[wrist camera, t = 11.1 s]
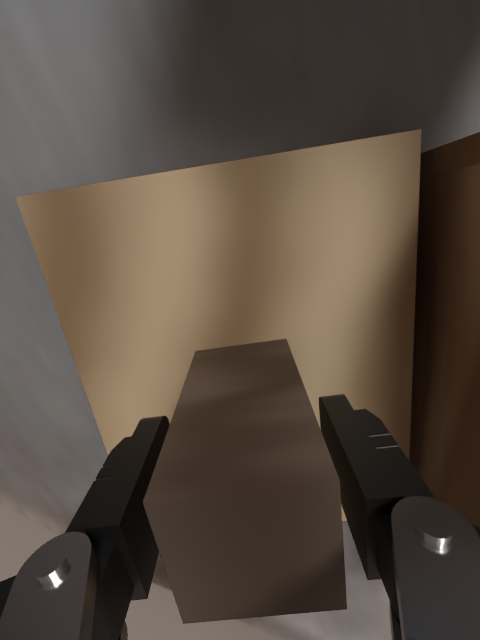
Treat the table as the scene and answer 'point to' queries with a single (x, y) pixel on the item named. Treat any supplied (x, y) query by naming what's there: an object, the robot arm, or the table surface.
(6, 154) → the table surface
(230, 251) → the lid
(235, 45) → the table surface
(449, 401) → the chest
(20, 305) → the table surface
